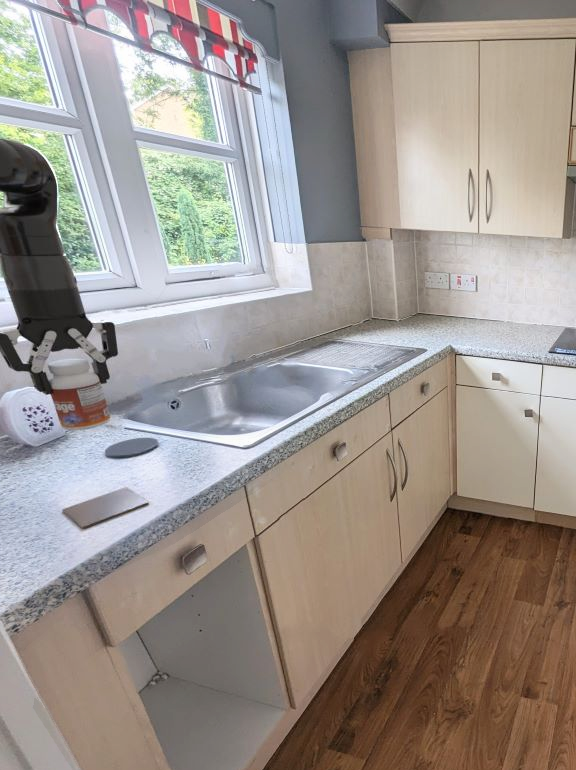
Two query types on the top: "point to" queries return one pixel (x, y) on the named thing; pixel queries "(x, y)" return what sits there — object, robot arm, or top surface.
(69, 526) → the top surface
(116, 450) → the plate
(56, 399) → the pill bottle
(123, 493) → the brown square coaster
